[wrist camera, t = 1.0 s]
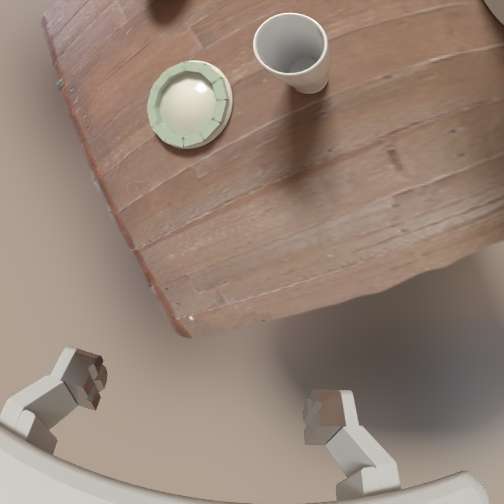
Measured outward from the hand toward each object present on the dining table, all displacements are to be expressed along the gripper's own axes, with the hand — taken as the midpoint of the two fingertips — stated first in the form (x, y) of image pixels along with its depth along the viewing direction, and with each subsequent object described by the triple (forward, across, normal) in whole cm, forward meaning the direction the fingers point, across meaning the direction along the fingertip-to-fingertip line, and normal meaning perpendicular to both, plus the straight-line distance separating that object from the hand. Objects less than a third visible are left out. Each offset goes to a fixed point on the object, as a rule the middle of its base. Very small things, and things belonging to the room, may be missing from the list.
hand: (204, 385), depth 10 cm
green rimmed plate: (+39, +10, -6) cm, 41 cm away
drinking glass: (+36, -6, -13) cm, 38 cm away
